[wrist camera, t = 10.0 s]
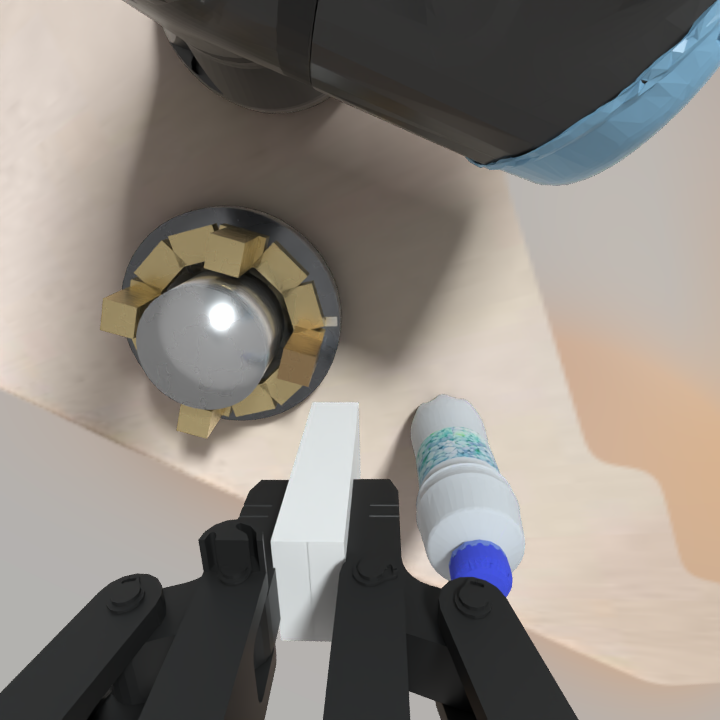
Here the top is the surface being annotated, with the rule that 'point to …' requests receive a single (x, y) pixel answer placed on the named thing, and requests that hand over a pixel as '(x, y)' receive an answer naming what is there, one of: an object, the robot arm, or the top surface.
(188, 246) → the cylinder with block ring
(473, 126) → the robot arm
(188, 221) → the cap plate
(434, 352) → the top surface
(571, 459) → the top surface
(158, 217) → the top surface
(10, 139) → the top surface
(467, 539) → the bottle
